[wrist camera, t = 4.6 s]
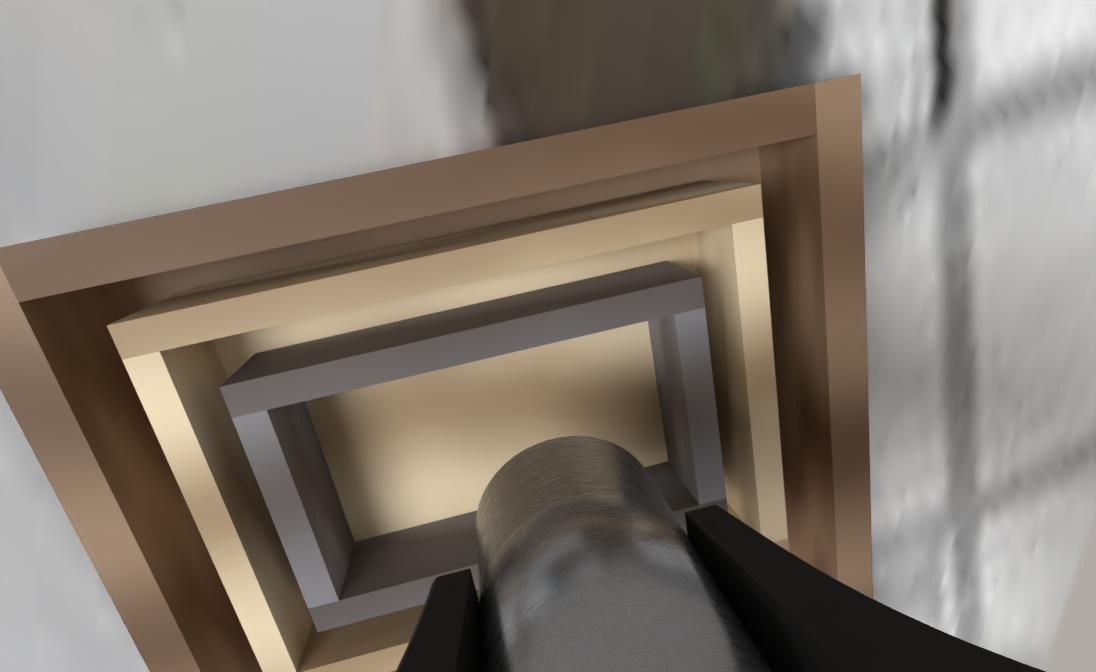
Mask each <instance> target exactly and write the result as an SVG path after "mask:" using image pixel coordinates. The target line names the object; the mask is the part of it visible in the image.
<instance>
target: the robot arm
mask: <svg viewBox="0 0 1096 672" xmlns="http://www.w3.org/2000/svg"><path fill="white" fill-rule="evenodd" d="M685 519H686V527H687V535H688V538H689V539H690V541H691V542H692V544H693V546H694V547H695V549H696V550H697V552H698V554H699V555H700V557H701V558H702V560H703V562H704V563H705V565H706V567H707V568H708V570H709V571H710V573H711V575H712V576H713V578H714V579H715V581H716V583H717V584H718V586H719V587H720V589H721V591H722V592H723V594H724V595H725V597H726V599H727V600H728V602H729V603H730V605H731V607H732V608H733V610H734V611H735V613H736V615H737V616H738V618H739V620H740V621H741V623H742V624H743V626H744V628H745V629H746V631H747V632H748V634H749V636H750V637H751V639H752V640H753V642H754V644H755V645H756V647H757V648H758V650H759V652H760V653H761V655H762V656H763V658H764V660H765V661H766V663H767V664H768V666H769V668H770V669H771V671H772V672H1045V671H1043V670H1040V669H1037V668H1034V667H1031V666H1028V665H1025V664H1023V663H1020V662H1017V661H1015V660H1012V659H1010V658H1007V657H1004V656H1002V655H999V654H997V653H994V652H991V651H989V650H986V649H984V648H981V647H978V646H976V645H973V644H971V643H968V642H966V641H963V640H961V639H959V638H956V637H954V636H951V635H949V634H947V633H944V632H942V631H940V630H937V629H935V628H933V627H931V626H929V625H926V624H924V623H922V622H920V621H918V620H916V619H913V618H911V617H909V616H907V615H905V614H902V613H900V612H898V611H896V610H894V609H892V608H890V607H888V606H886V605H884V604H882V603H880V602H877V601H875V600H874V599H872V598H870V597H868V596H866V595H864V594H862V593H860V592H858V591H857V590H855V589H853V588H851V587H849V586H847V585H845V584H843V583H842V582H840V581H838V580H836V579H834V578H832V577H831V576H829V575H827V574H825V573H824V572H822V571H820V570H818V569H817V568H815V567H813V566H812V565H810V564H808V563H807V562H805V561H803V560H802V559H800V558H798V557H797V556H795V555H793V554H792V553H790V552H789V551H787V550H785V549H784V548H782V547H781V546H779V545H777V544H776V543H774V542H773V541H771V540H770V539H768V538H767V537H765V536H763V535H762V534H760V533H759V532H757V531H756V530H754V529H753V528H751V527H750V526H748V525H747V524H745V523H744V522H742V521H740V520H739V519H737V518H736V517H734V516H733V515H731V514H730V513H728V512H727V511H725V510H724V509H722V508H721V507H719V506H717V505H716V504H715V505H711V506H707V507H704V508H700V509H696V510H692V511H688V512H685ZM396 672H484V668H483V650H482V631H481V613H480V602H479V599H478V595H477V591H476V588H475V584H474V581H473V577H472V573H471V570H470V568H469V569H466V570H462V571H458V572H454V573H450V574H446V575H443V576H439V577H436V579H435V580H434V582H433V583H432V585H431V588H430V591H429V594H428V597H427V599H426V602H425V605H424V607H423V610H422V612H421V615H420V617H419V620H418V622H417V625H416V627H415V629H414V632H413V634H412V637H411V639H410V641H409V644H408V646H407V648H406V650H405V652H404V655H403V657H402V659H401V661H400V663H399V666H398V668H397V670H396Z"/></svg>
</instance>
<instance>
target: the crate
mask: <svg viewBox="0 0 1096 672" xmlns="http://www.w3.org/2000/svg"><path fill="white" fill-rule="evenodd" d="M107 327H108V330H109V332H110V334H111V336H112V339H113V341H114V343H115V345H116V347H117V350H118V352H119V354H120V356H121V359H122V361H123V363H124V365H125V367H126V370H127V372H128V374H129V376H130V378H131V381H132V383H133V385H134V387H135V390H136V392H137V394H138V396H139V398H140V401H141V403H142V405H143V407H144V410H145V412H146V414H147V416H148V418H149V421H150V423H151V425H152V427H153V430H154V432H155V434H156V436H157V438H158V441H159V443H160V445H161V447H162V450H163V452H164V454H165V456H166V458H167V461H168V463H169V465H170V467H171V470H172V472H173V474H174V476H175V478H176V481H177V483H178V485H179V487H180V489H181V492H182V494H183V496H184V498H185V501H186V503H187V505H188V507H189V509H190V512H191V514H192V516H193V518H194V521H195V523H196V525H197V527H198V529H199V532H200V534H201V536H202V538H203V541H204V543H205V545H206V547H207V549H208V552H209V554H210V556H211V558H212V561H213V563H214V565H215V567H216V569H217V572H218V574H219V576H220V578H221V580H222V583H223V585H224V587H225V589H226V592H227V594H228V596H229V598H230V600H231V603H232V605H233V607H234V609H235V612H236V614H237V616H238V618H239V620H240V623H241V625H242V627H243V629H244V632H245V634H246V636H247V638H248V640H249V643H250V645H251V647H252V649H253V652H254V654H255V656H256V658H257V660H258V663H259V665H260V667H261V669H262V671H263V672H391V671H395V670H397V668H398V666H399V663H400V661H401V659H402V657H403V655H404V652H405V650H406V648H407V646H408V644H409V641H410V639H411V637H412V634H413V632H414V629H415V627H416V625H417V622H418V620H419V617H420V615H421V612H422V610H423V607H424V605H425V602H426V599H427V597H428V594H429V591H430V588H431V585H432V583H433V582H434V580H435V579H436V577H439V576H443V575H446V574H450V573H454V572H458V571H462V570H466V569H469V568H470V570H471V573H472V577H473V581H474V584H475V588H476V591H477V595H478V599H479V602H480V595H479V577H478V559H477V540H476V515H477V511H478V506H479V503H480V500H481V497H482V495H483V493H484V491H485V489H486V487H487V485H488V483H489V482H490V481H491V479H492V478H493V476H494V475H495V474H496V473H497V472H498V470H499V469H500V468H501V467H502V466H503V465H504V464H505V463H507V462H508V461H509V460H510V459H511V458H513V457H514V456H515V455H517V454H519V453H520V452H522V451H523V450H525V449H527V448H529V447H531V446H533V445H535V444H538V443H541V442H543V441H546V440H550V439H554V438H559V437H567V436H588V437H594V438H599V439H603V440H606V441H609V442H612V443H614V444H616V445H619V446H620V447H622V448H624V449H625V450H627V451H628V452H630V453H631V454H632V455H633V456H635V457H636V458H637V459H638V460H639V461H640V463H641V464H642V465H643V466H644V467H645V469H646V470H647V472H648V473H649V475H650V477H651V478H652V480H653V481H654V483H655V485H656V486H657V488H658V489H659V491H660V493H661V494H662V496H663V497H664V499H665V501H666V502H667V504H668V505H669V507H670V509H671V510H672V512H673V513H674V515H675V517H676V518H677V520H678V522H679V523H680V525H681V526H682V528H683V530H684V531H685V533H686V534H687V527H686V519H685V512H688V511H692V510H696V509H700V508H704V507H707V506H711V505H715V504H716V505H717V506H719V507H721V508H722V509H724V510H725V511H727V512H728V513H730V514H731V515H733V516H734V517H736V518H737V519H739V520H740V521H742V522H744V523H745V524H747V525H748V526H750V527H751V528H753V529H754V530H756V531H757V532H759V533H760V534H762V535H763V536H765V537H767V538H768V539H770V540H771V541H773V542H774V543H776V544H777V545H779V546H781V547H782V548H784V549H785V550H787V551H789V547H788V534H787V521H786V508H785V495H784V482H783V469H782V456H781V443H780V430H779V417H778V404H777V391H776V378H775V366H774V353H773V340H772V327H771V314H770V301H769V288H768V275H767V262H766V249H765V236H764V223H763V210H762V197H761V184H754V183H738V182H722V181H706V180H700V181H696V182H691V183H686V184H682V185H677V186H672V187H668V188H663V189H658V190H654V191H649V192H644V193H639V194H635V195H630V196H625V197H621V198H616V199H611V200H607V201H602V202H597V203H593V204H588V205H583V206H579V207H574V208H569V209H565V210H560V211H555V212H551V213H546V214H541V215H537V216H532V217H527V218H523V219H518V220H513V221H509V222H504V223H499V224H495V225H490V226H485V227H481V228H476V229H471V230H467V231H462V232H457V233H453V234H448V235H443V236H439V237H434V238H429V239H425V240H420V241H415V242H411V243H406V244H401V245H397V246H392V247H387V248H383V249H378V250H373V251H368V252H364V253H359V254H354V255H350V256H345V257H340V258H336V259H331V260H326V261H322V262H317V263H312V264H308V265H303V266H298V267H294V268H289V269H284V270H280V271H275V272H270V273H266V274H261V275H256V276H252V277H247V278H242V279H238V280H233V281H228V282H224V283H219V284H214V285H210V286H205V287H200V288H196V289H191V290H186V291H182V292H179V293H176V294H174V295H172V296H170V297H168V298H166V299H163V300H161V301H159V302H157V303H155V304H152V305H150V306H148V307H146V308H144V309H142V310H139V311H137V312H135V313H133V314H131V315H129V316H126V317H124V318H122V319H120V320H118V321H115V322H113V323H111V324H109V325H107ZM687 536H688V535H687Z"/></svg>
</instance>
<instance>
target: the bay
mask: <svg viewBox="0 0 1096 672" xmlns="http://www.w3.org/2000/svg"><path fill="white" fill-rule="evenodd" d="M700 180H706V181H722V182H738V183H754V184H761V197H762V210H763V223H764V236H765V249H766V262H767V275H768V288H769V301H770V314H771V327H772V340H773V353H774V366H775V378H776V391H777V404H778V417H779V430H780V443H781V456H782V469H783V482H784V495H785V508H786V521H787V534H788V547H789V552H790V553H792V554H793V555H795V556H797V557H798V558H800V559H802V560H803V561H805V562H807V563H808V564H810V565H812V566H813V567H815V568H817V569H818V570H820V571H822V572H824V573H825V574H827V575H829V576H831V577H832V578H834V579H836V580H838V581H840V582H842V583H843V584H845V585H847V586H849V587H851V588H853V589H855V590H857V591H858V592H860V593H862V594H864V595H866V596H868V597H870V598H872V599H873V584H872V542H871V500H870V457H869V415H868V373H867V331H866V288H865V246H864V204H863V162H862V119H861V77H860V74H856V75H851V76H846V77H841V78H836V79H832V80H827V81H822V82H817V83H812V84H807V85H802V86H797V87H792V88H787V89H782V90H777V91H772V92H767V93H762V94H757V95H752V96H747V97H743V98H738V99H733V100H728V101H723V102H718V103H713V104H708V105H703V106H698V107H693V108H688V109H683V110H678V111H673V112H668V113H663V114H658V115H654V116H649V117H644V118H639V119H634V120H629V121H624V122H619V123H614V124H609V125H604V126H599V127H594V128H589V129H584V130H579V131H574V132H569V133H565V134H560V135H555V136H550V137H545V138H540V139H535V140H530V141H525V142H520V143H515V144H510V145H505V146H500V147H495V148H490V149H485V150H480V151H476V152H471V153H466V154H461V155H456V156H451V157H446V158H441V159H436V160H431V161H426V162H421V163H416V164H411V165H406V166H401V167H396V168H391V169H387V170H382V171H377V172H372V173H367V174H362V175H357V176H352V177H347V178H342V179H337V180H332V181H327V182H322V183H317V184H312V185H307V186H302V187H298V188H293V189H288V190H283V191H278V192H273V193H268V194H263V195H258V196H253V197H248V198H243V199H238V200H233V201H228V202H223V203H218V204H213V205H209V206H204V207H199V208H194V209H189V210H184V211H179V212H174V213H169V214H164V215H159V216H154V217H149V218H144V219H139V220H134V221H129V222H124V223H120V224H115V225H110V226H105V227H100V228H95V229H90V230H85V231H80V232H75V233H70V234H65V235H60V236H55V237H50V238H45V239H40V240H35V241H31V242H26V243H21V244H16V245H11V246H6V247H1V248H0V389H1V391H2V393H3V395H4V397H5V399H6V401H7V402H8V404H9V406H10V408H11V410H12V412H13V414H14V416H15V418H16V420H17V421H18V423H19V425H20V427H21V429H22V431H23V433H24V435H25V437H26V438H27V440H28V442H29V444H30V446H31V448H32V450H33V452H34V454H35V455H36V457H37V459H38V461H39V463H40V465H41V467H42V469H43V471H44V472H45V474H46V476H47V478H48V480H49V482H50V484H51V486H52V488H53V489H54V491H55V493H56V495H57V497H58V499H59V501H60V503H61V505H62V506H63V508H64V510H65V512H66V514H67V516H68V518H69V520H70V522H71V523H72V525H73V527H74V529H75V531H76V533H77V535H78V537H79V539H80V540H81V542H82V544H83V546H84V548H85V550H86V552H87V554H88V556H89V557H90V559H91V561H92V563H93V565H94V567H95V569H96V571H97V573H98V574H99V576H100V578H101V580H102V582H103V584H104V586H105V588H106V590H107V591H108V593H109V595H110V597H111V599H112V601H113V603H114V605H115V607H116V609H117V610H118V612H119V614H120V616H121V618H122V620H123V622H124V624H125V626H126V627H127V629H128V631H129V633H130V635H131V637H132V639H133V641H134V643H135V644H136V646H137V648H138V650H139V652H140V654H141V656H142V658H143V660H144V661H145V663H146V665H147V667H148V669H149V671H150V672H263V671H262V669H261V667H260V665H259V663H258V660H257V658H256V656H255V654H254V652H253V649H252V647H251V645H250V643H249V640H248V638H247V636H246V634H245V632H244V629H243V627H242V625H241V623H240V620H239V618H238V616H237V614H236V612H235V609H234V607H233V605H232V603H231V600H230V598H229V596H228V594H227V592H226V589H225V587H224V585H223V583H222V580H221V578H220V576H219V574H218V572H217V569H216V567H215V565H214V563H213V561H212V558H211V556H210V554H209V552H208V549H207V547H206V545H205V543H204V541H203V538H202V536H201V534H200V532H199V529H198V527H197V525H196V523H195V521H194V518H193V516H192V514H191V512H190V509H189V507H188V505H187V503H186V501H185V498H184V496H183V494H182V492H181V489H180V487H179V485H178V483H177V481H176V478H175V476H174V474H173V472H172V470H171V467H170V465H169V463H168V461H167V458H166V456H165V454H164V452H163V450H162V447H161V445H160V443H159V441H158V438H157V436H156V434H155V432H154V430H153V427H152V425H151V423H150V421H149V418H148V416H147V414H146V412H145V410H144V407H143V405H142V403H141V401H140V398H139V396H138V394H137V392H136V390H135V387H134V385H133V383H132V381H131V378H130V376H129V374H128V372H127V370H126V367H125V365H124V363H123V361H122V359H121V356H120V354H119V352H118V350H117V347H116V345H115V343H114V341H113V339H112V336H111V334H110V332H109V330H108V327H107V325H109V324H111V323H113V322H115V321H118V320H120V319H122V318H124V317H126V316H129V315H131V314H133V313H135V312H137V311H139V310H142V309H144V308H146V307H148V306H150V305H152V304H155V303H157V302H159V301H161V300H163V299H166V298H168V297H170V296H172V295H174V294H176V293H179V292H182V291H186V290H191V289H196V288H200V287H205V286H210V285H214V284H219V283H224V282H228V281H233V280H238V279H242V278H247V277H252V276H256V275H261V274H266V273H270V272H275V271H280V270H284V269H289V268H294V267H298V266H303V265H308V264H312V263H317V262H322V261H326V260H331V259H336V258H340V257H345V256H350V255H354V254H359V253H364V252H368V251H373V250H378V249H383V248H387V247H392V246H397V245H401V244H406V243H411V242H415V241H420V240H425V239H429V238H434V237H439V236H443V235H448V234H453V233H457V232H462V231H467V230H471V229H476V228H481V227H485V226H490V225H495V224H499V223H504V222H509V221H513V220H518V219H523V218H527V217H532V216H537V215H541V214H546V213H551V212H555V211H560V210H565V209H569V208H574V207H579V206H583V205H588V204H593V203H597V202H602V201H607V200H611V199H616V198H621V197H625V196H630V195H635V194H639V193H644V192H649V191H654V190H658V189H663V188H668V187H672V186H677V185H682V184H686V183H691V182H696V181H700ZM391 672H396V670H395V671H391Z"/></svg>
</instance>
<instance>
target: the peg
mask: <svg viewBox="0 0 1096 672" xmlns="http://www.w3.org/2000/svg"><path fill="white" fill-rule="evenodd" d="M476 540H477V559H478V577H479V595H480V613H481V631H482V650H483V668H484V672H772V671H771V669H770V668H769V666H768V664H767V663H766V661H765V660H764V658H763V656H762V655H761V653H760V652H759V650H758V648H757V647H756V645H755V644H754V642H753V640H752V639H751V637H750V636H749V634H748V632H747V631H746V629H745V628H744V626H743V624H742V623H741V621H740V620H739V618H738V616H737V615H736V613H735V611H734V610H733V608H732V607H731V605H730V603H729V602H728V600H727V599H726V597H725V595H724V594H723V592H722V591H721V589H720V587H719V586H718V584H717V583H716V581H715V579H714V578H713V576H712V575H711V573H710V571H709V570H708V568H707V567H706V565H705V563H704V562H703V560H702V558H701V557H700V555H699V554H698V552H697V550H696V549H695V547H694V546H693V544H692V542H691V541H690V539H689V538H688V536H687V534H686V533H685V531H684V530H683V528H682V526H681V525H680V523H679V522H678V520H677V518H676V517H675V515H674V513H673V512H672V510H671V509H670V507H669V505H668V504H667V502H666V501H665V499H664V497H663V496H662V494H661V493H660V491H659V489H658V488H657V486H656V485H655V483H654V481H653V480H652V478H651V477H650V475H649V473H648V472H647V470H646V469H645V467H644V466H643V465H642V464H641V463H640V461H639V460H638V459H637V458H636V457H635V456H633V455H632V454H631V453H630V452H628V451H627V450H625V449H624V448H622V447H620V446H619V445H616V444H614V443H612V442H609V441H606V440H603V439H599V438H594V437H588V436H567V437H559V438H554V439H550V440H546V441H543V442H541V443H538V444H535V445H533V446H531V447H529V448H527V449H525V450H523V451H522V452H520V453H519V454H517V455H515V456H514V457H513V458H511V459H510V460H509V461H508V462H507V463H505V464H504V465H503V466H502V467H501V468H500V469H499V470H498V472H497V473H496V474H495V475H494V476H493V478H492V479H491V481H490V482H489V483H488V485H487V487H486V489H485V491H484V493H483V495H482V497H481V500H480V503H479V506H478V511H477V515H476Z"/></svg>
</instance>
